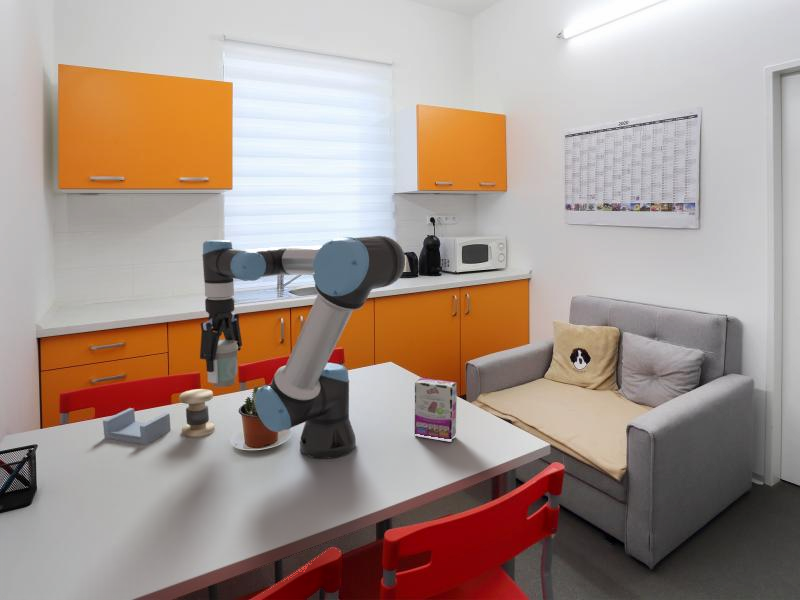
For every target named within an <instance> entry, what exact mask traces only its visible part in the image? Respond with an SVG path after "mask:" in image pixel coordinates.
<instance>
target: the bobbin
mask: <svg viewBox="0 0 800 600" xmlns="http://www.w3.org/2000/svg"><path fill="white" fill-rule="evenodd" d="M178 398H179V402H180V403H182V404H185V405H188V406H187V407H186V408H185V416H186V424H185V425H184V426H183V427H181V435H182V436H183V437H185V438H191V439H192V438H193V439H194V438H196V439H197V438H202V437H205V436H208V435H210V434H213V433H214V432H215V428H216V427H215V423H213V422H211V421H209V419H210V418H209V414H210V413H209V406H208V405H206V402H209V401H211V400H212V399H213V398H214V393H213V391H212V390H211V389H205V388H198V389H197V388H196V389H190V390H186V391H183V392H181V393H180V394H179V397H178Z"/></svg>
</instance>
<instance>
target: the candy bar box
mask: <svg viewBox="0 0 800 600" xmlns="http://www.w3.org/2000/svg"><path fill="white" fill-rule="evenodd" d="M457 384H458V383H457V382H455V381H447V380H441V379H433V378H432V379H431V378H423V377H420V378H419V379H418V380H417V381H415V383H414V435H415V434H420V435H424V436H431V437H438V438H444V439H452V438H453V437H454V436H455V434H456V435H457V396H458V395H457V393H458V391H457V388H458V385H457Z"/></svg>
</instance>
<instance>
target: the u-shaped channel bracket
mask: <svg viewBox="0 0 800 600" xmlns="http://www.w3.org/2000/svg"><path fill="white" fill-rule="evenodd" d="M170 416H171V415H170V413H168V412H164V413H162V414H159V415H158V416H157V417H154V418H152V419H151V420H149V421H147V422H142V421H136V417H135V408H134V407H133V408H131V407H129V408H127V409H125V410H123V411H120V412H118V413H116V414H114V415H112V416H109V417H107V418H105V419H103V420H102V426H103V427H102V428H103V436H104V439H109V440H112V441H121V442H128V443H133V444H139V445H148V444H150V443H151V442H153V441H155V440H156V439H158V438H160V437H162V436H163V435H165V434H167V433H168V432H170V431H171V417H170Z"/></svg>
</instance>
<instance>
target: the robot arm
mask: <svg viewBox="0 0 800 600" xmlns="http://www.w3.org/2000/svg"><path fill="white" fill-rule="evenodd" d="M201 256H202V266H203V268H202V270H203V281H204V296H205V297H206V298H205V299H204V307H205V309H204V310H205V312H206V313H208V319H207V320H206V322H204V321H202V322H200V328H201V338H200V350H199V351H200V352H199V358H200V360H204V361H206V362H205V364H206V365H205V366H206V372H207V383H211V384H213V383H218V368H217V359H215V355H216V351H217V346H218V342H219V339H220V337H221V336H222V335H223V336H224V339H227V340H235V341H236V343H237V345H238V350H237V352H238V351H239V352H240V351H241V350H242V346H243V342H242V335H241V329H240V328H241V327H240V322H239V321H240V314H239V313H234V311H235V308H236V307H235V298H234V297H233V296H235V287H234V283H235V282H234V279H235V280H241V281H244V282H247V281H252V282H254V281H258V280H260V279H261V278H264V277H273V276H281V275H282V276H284V275H285V276H289V275H290V276H292V275H293V276H294V275H296V276H299V275H300V276H306V275H307V276H313V277H312V278H313V282H314V289H315V291H316V293H317V296H316V297H315V300H314V302H313V304H312V307H311V309H310V311H309V313H308V316H307V317H306V320H305V322H304V324H303V326H302V328H301V331H300V333H299V336H298V337H297V340H296V342H295V344H294V346H293V349H292V351H291V353H290V356H289V358H288V360H287V362H286V365H283V366H280V367H279V368H278V369H277V370H276V371H275V373H274V375H273V377H272V380H271V382H270V383H269V384H268V385H263V386H262V387H260V388H259V389H257V391H256V393H255V396H254V405H255V410H256V414H257V415H258V417H259V419H260V421H261V423H263V424H262V425H264V427H266V428H267V429H268V430H270V431H272V432H276V433H279V432H282V431H288V430H290V429H291V428H294V427H297V426H298V425H301V424H303V423H304V425H303V428H302V431H301V435H300V438H299V450H300V452H301V453H302V454H304V455H306V456H308V457H311V458H316V459H334V458H339V456H340V457H343V456H346V455H348V454H349V452H350V453H351V452H353V451H354V450H355V448H356V446H357V445H356V440H357V439H356V435H355V431H354V429H353V426H352V423H351V421H350V380H349V371H348V369H347V368H346V366H344V365H342V364H339V363H333V362H328V361H329V360H330V358H331V356H332V354H333V352H334V351H335V348H336V346H337V344H338V342H339V340H340V338H341V336H342V334H343V332H344V329H345V328H346V325H347V324H348V322H349V319H350V318H351V316H352V314H353V311H356V310H357V311H358V310H360V309H362V307H363V306H364V305H365V304H366V303H365V302H366V301H367V299H368V297H369V295H370V294H371V291H372V290H375V289H380V288H386V287H388V286H391V285H393V284H394V283H396V282H397V281H398V280H399V279H400V278H401V276H402V275H403V273H404V271H405V267H406V256H405V252H404V250H403V248H402V247H401V245H400V244H399V243H398V242H397V241H396V240H394V239H393V238H390V237H388V236H383V235H373V236H361V237H360V236H359V237H351V236H343V237H339V238H337V239H336V238H335V239H331V240H329V241H327V242H325V243H323V245H313V246H312V245H309V246H287V245H285V246H279V247H268V248H267V247H266V248H254V249H253V248H252V249H234V248H233V243H232V241H230V240H229V239H211V240H210V239H207V240H205V241H204V242H203V243H202V255H201ZM237 374H238V359H237V360H236V372H235V375H237ZM355 445H356V446H355ZM353 449H354V450H353ZM352 450H353V451H352ZM347 453H348V454H347ZM345 454H346V455H345Z"/></svg>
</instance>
